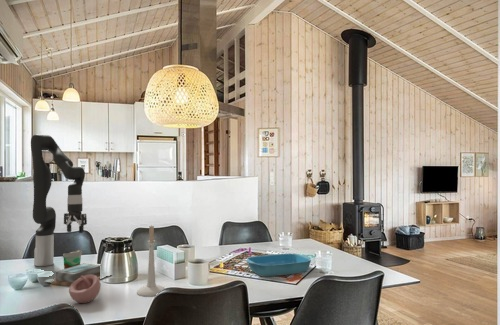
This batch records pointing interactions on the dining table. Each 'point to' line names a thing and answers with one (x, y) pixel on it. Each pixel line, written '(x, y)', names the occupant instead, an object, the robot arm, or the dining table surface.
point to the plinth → (75, 273)
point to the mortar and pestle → (85, 288)
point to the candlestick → (150, 271)
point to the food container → (72, 258)
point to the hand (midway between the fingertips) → (75, 232)
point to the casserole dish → (279, 264)
